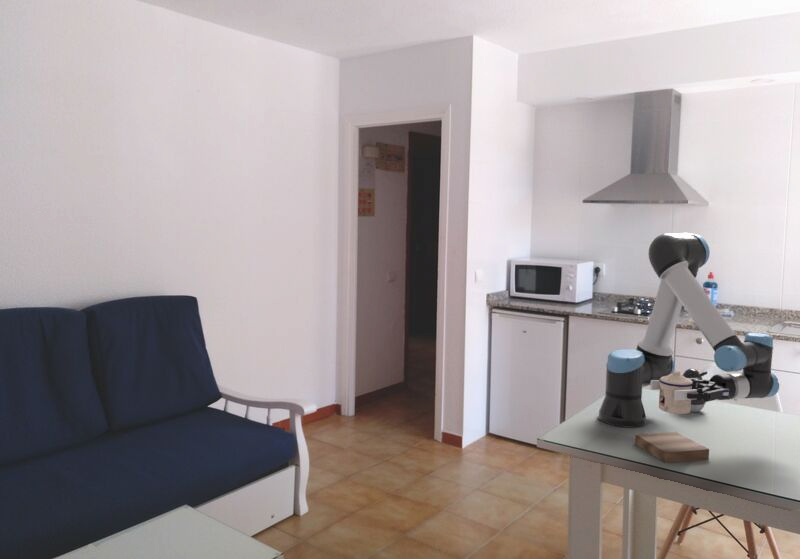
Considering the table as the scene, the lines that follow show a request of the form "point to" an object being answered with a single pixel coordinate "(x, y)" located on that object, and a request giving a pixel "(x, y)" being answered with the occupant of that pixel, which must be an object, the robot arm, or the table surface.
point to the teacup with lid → (668, 393)
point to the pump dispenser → (693, 373)
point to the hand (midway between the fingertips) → (663, 390)
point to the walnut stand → (671, 447)
